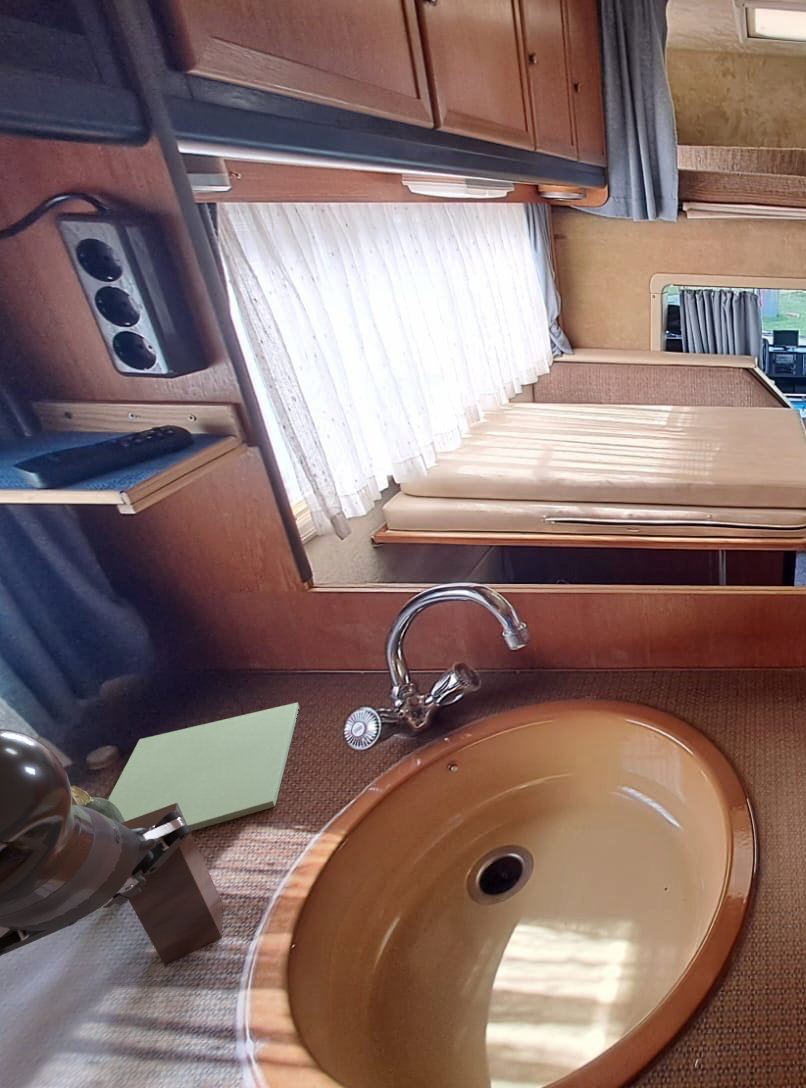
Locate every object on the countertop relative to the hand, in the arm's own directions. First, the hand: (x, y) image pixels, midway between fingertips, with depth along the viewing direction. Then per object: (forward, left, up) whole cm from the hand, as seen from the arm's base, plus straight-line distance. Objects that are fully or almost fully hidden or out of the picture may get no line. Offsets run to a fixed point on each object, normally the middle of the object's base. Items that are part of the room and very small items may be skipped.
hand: (126, 889), depth 58 cm
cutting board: (-8, +39, -22) cm, 45 cm away
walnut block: (-3, +11, -22) cm, 24 cm away
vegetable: (-11, +20, -22) cm, 31 cm away
